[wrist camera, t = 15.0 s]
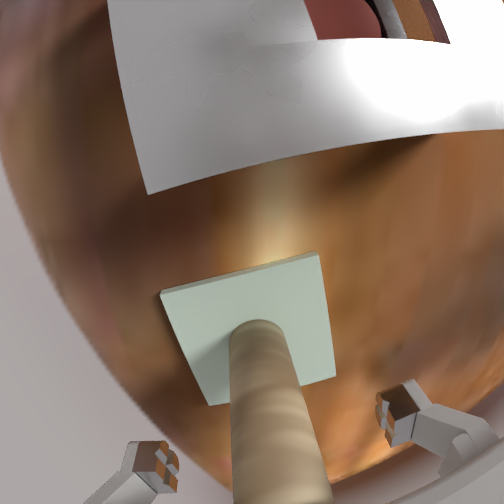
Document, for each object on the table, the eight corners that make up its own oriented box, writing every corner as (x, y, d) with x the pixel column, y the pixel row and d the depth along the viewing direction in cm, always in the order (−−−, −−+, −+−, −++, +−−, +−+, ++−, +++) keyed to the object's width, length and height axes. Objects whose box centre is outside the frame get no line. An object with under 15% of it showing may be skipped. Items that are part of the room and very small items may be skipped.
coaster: (315, 250, 15) (318, 254, 14) (333, 369, 17) (336, 375, 17) (161, 289, 15) (159, 294, 14) (209, 399, 17) (209, 405, 17)
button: (339, 6, 11) (360, -20, 8) (365, 81, 12) (394, 67, 9) (253, 12, 11) (259, -18, 8) (277, 92, 12) (290, 75, 9)
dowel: (279, 312, 15) (334, 489, 6) (289, 357, 16) (337, 519, 6) (222, 327, 15) (220, 510, 6) (237, 370, 16) (249, 536, 6)
